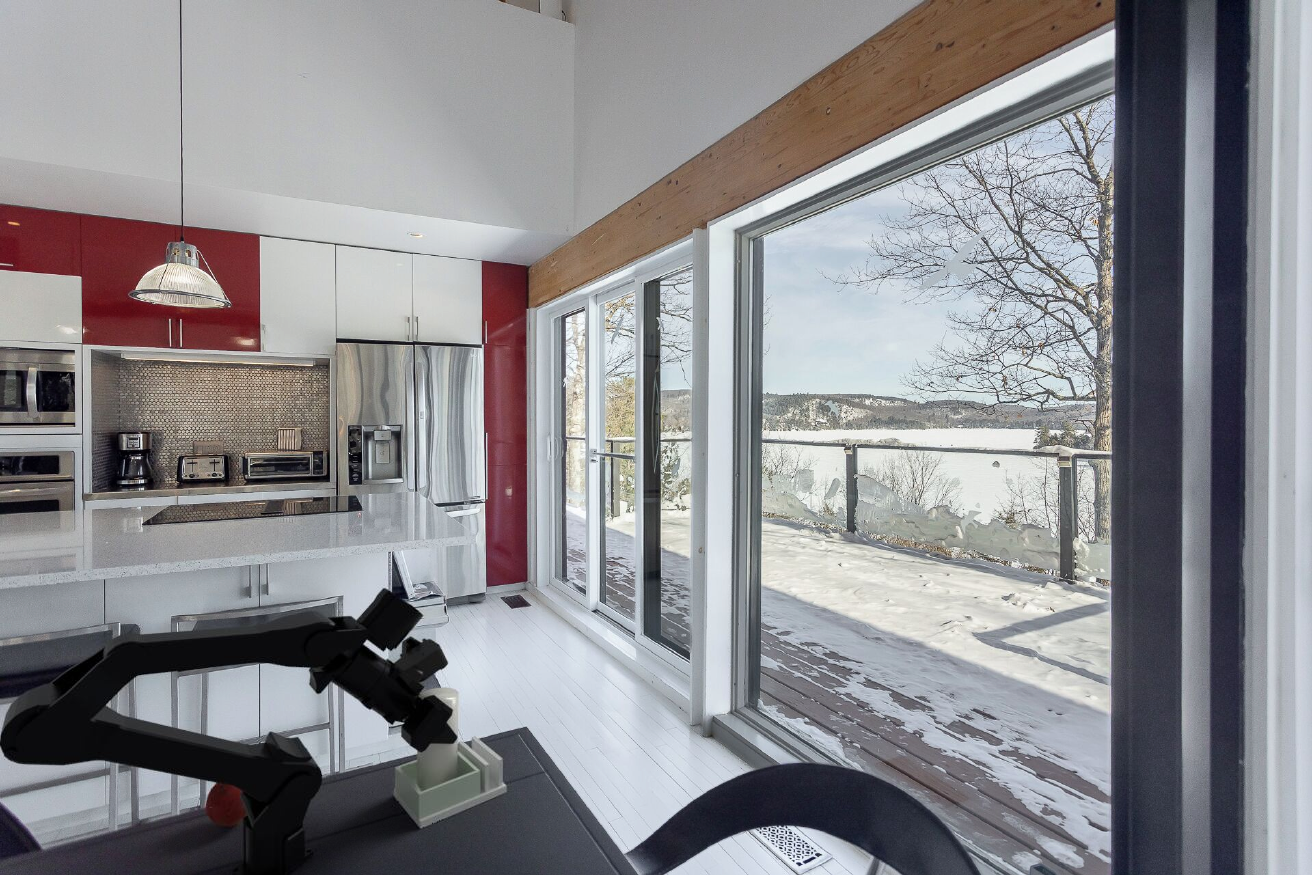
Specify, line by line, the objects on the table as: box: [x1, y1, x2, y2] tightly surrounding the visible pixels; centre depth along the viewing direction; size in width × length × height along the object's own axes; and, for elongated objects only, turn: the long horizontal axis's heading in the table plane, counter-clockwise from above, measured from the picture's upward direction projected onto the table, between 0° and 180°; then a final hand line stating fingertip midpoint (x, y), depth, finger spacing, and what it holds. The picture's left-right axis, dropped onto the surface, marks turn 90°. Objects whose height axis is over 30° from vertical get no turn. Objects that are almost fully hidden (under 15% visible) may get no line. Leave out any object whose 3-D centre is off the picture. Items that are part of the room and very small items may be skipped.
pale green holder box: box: [393, 735, 508, 829], centre depth 94 cm, size 13×10×5 cm
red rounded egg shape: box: [205, 783, 247, 827], centre depth 86 cm, size 6×6×8 cm
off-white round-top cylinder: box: [416, 687, 459, 790], centre depth 93 cm, size 6×6×12 cm
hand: (446, 732), depth 94 cm, fingers closed on off-white round-top cylinder, 6 cm apart
